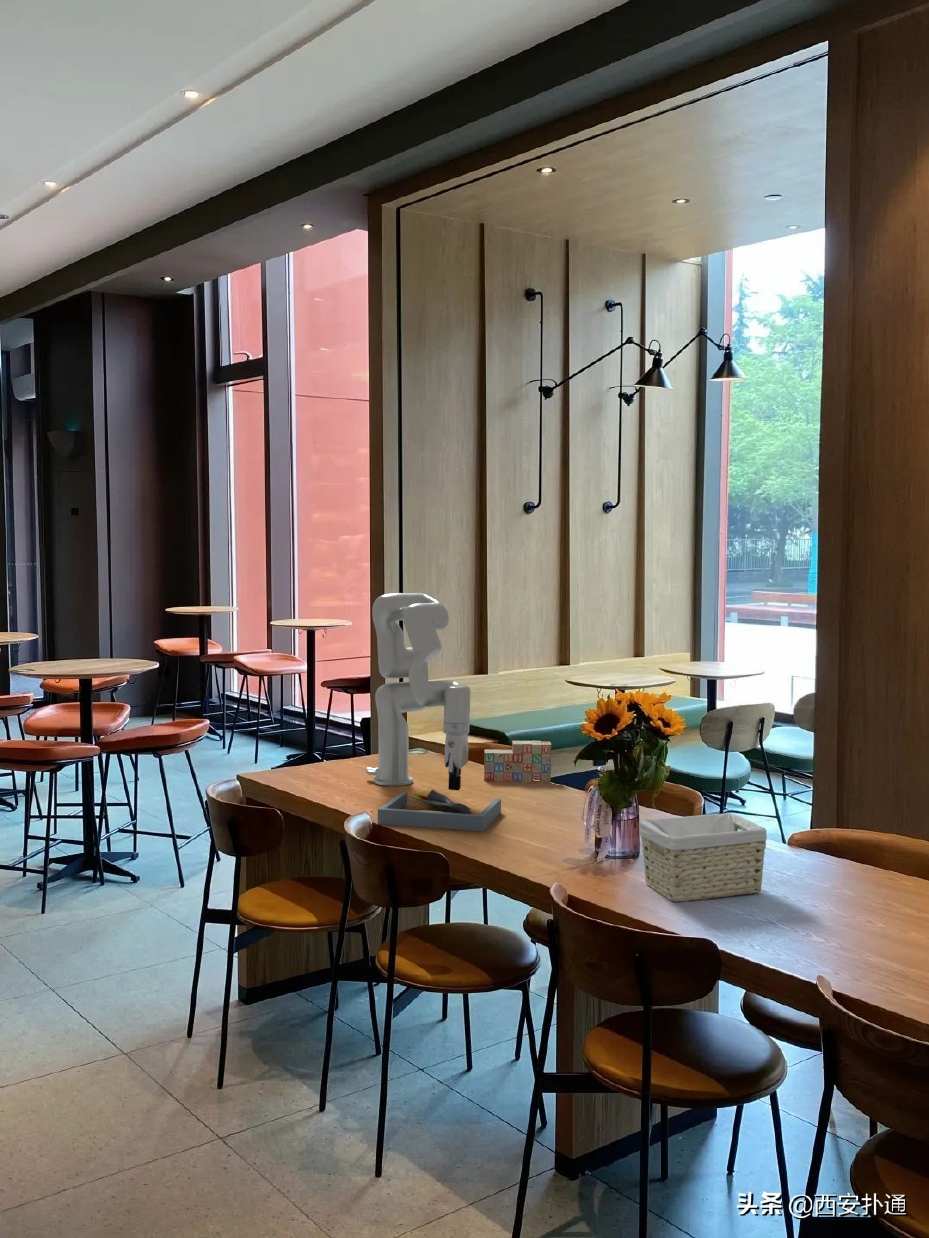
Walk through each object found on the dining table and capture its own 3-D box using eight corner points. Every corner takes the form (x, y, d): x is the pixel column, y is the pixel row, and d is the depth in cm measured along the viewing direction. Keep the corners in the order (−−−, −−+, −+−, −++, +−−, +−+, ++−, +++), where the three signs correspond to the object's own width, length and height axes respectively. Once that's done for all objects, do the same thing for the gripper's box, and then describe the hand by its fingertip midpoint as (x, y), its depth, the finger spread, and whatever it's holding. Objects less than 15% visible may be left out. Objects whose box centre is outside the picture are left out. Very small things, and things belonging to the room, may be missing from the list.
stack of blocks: (483, 781, 350) (484, 743, 350) (484, 777, 357) (484, 739, 356) (551, 782, 350) (551, 744, 349) (550, 778, 356) (550, 740, 355)
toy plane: (391, 799, 316) (395, 781, 317) (434, 804, 327) (438, 787, 328) (447, 819, 297) (451, 800, 298) (491, 824, 309) (495, 806, 309)
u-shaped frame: (377, 823, 296) (377, 809, 296) (402, 805, 317) (402, 791, 317) (482, 831, 289) (482, 816, 288) (501, 812, 309) (501, 798, 309)
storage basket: (668, 905, 231) (670, 836, 230) (635, 882, 246) (636, 817, 245) (769, 896, 237) (770, 828, 236) (730, 874, 253) (732, 811, 252)
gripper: (462, 733, 309) (460, 797, 311) (475, 723, 324) (473, 784, 326) (436, 731, 311) (434, 794, 313) (450, 721, 326) (448, 782, 328)
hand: (454, 789), depth 320 cm, fingers closed
